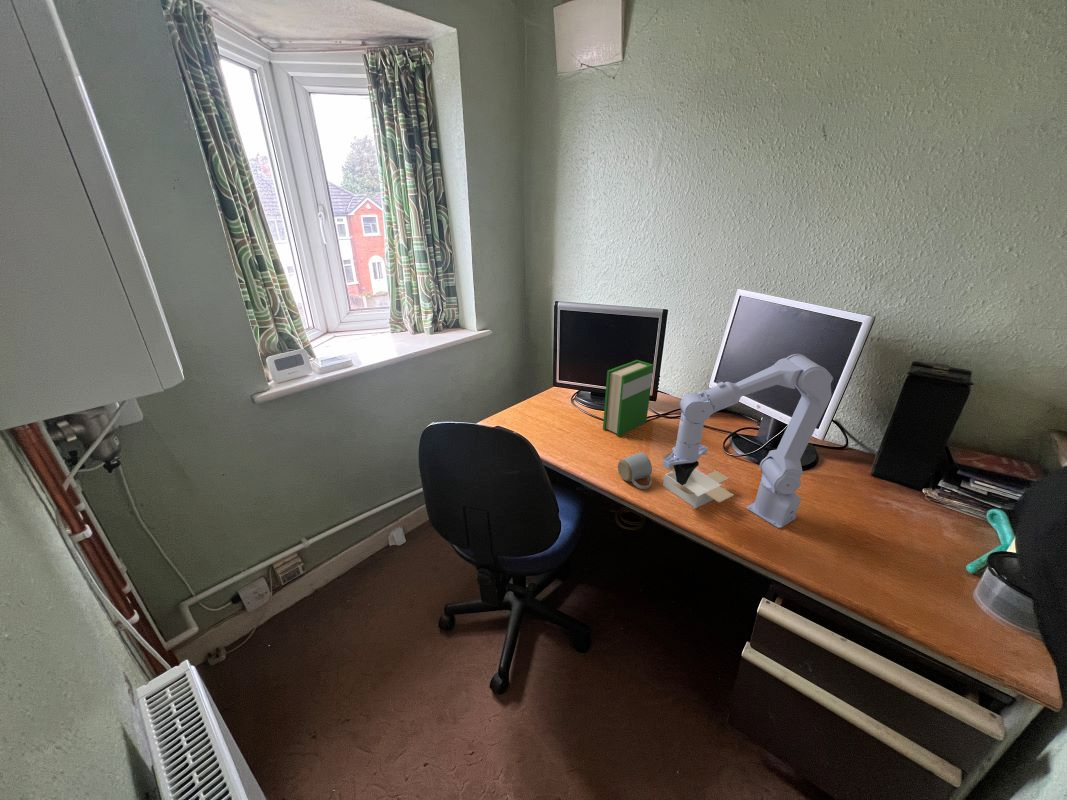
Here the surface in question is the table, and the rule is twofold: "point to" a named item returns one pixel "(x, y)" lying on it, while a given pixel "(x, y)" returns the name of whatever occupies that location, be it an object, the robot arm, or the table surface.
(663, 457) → the far flap
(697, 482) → the carton
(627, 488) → the table surface
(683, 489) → the left flap
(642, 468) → the ceramic mug
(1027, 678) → the table surface
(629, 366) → the hardback book
